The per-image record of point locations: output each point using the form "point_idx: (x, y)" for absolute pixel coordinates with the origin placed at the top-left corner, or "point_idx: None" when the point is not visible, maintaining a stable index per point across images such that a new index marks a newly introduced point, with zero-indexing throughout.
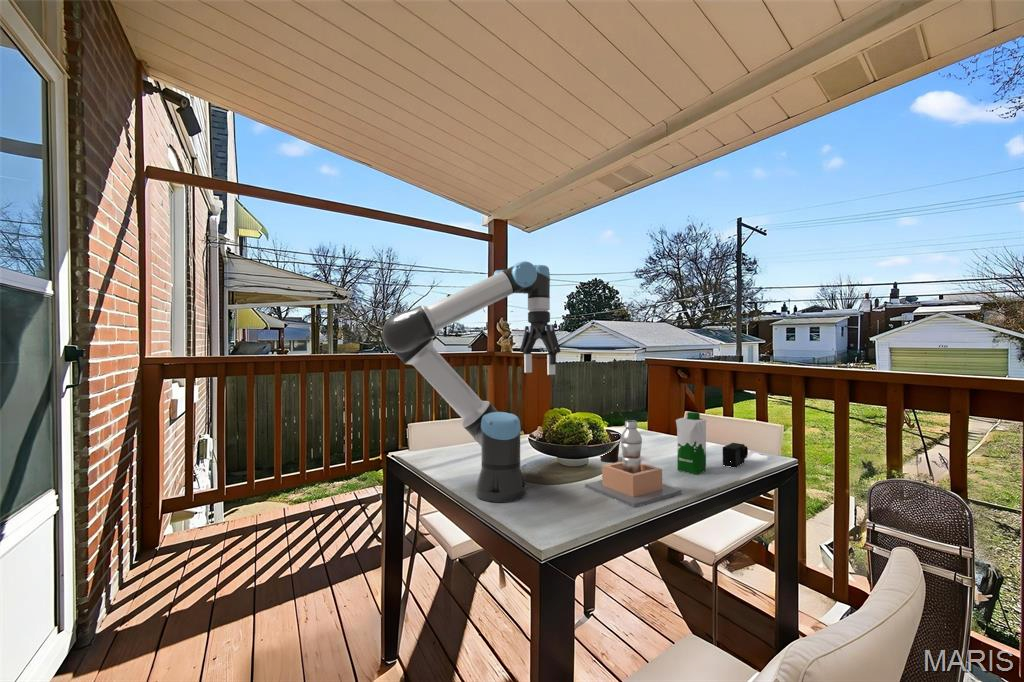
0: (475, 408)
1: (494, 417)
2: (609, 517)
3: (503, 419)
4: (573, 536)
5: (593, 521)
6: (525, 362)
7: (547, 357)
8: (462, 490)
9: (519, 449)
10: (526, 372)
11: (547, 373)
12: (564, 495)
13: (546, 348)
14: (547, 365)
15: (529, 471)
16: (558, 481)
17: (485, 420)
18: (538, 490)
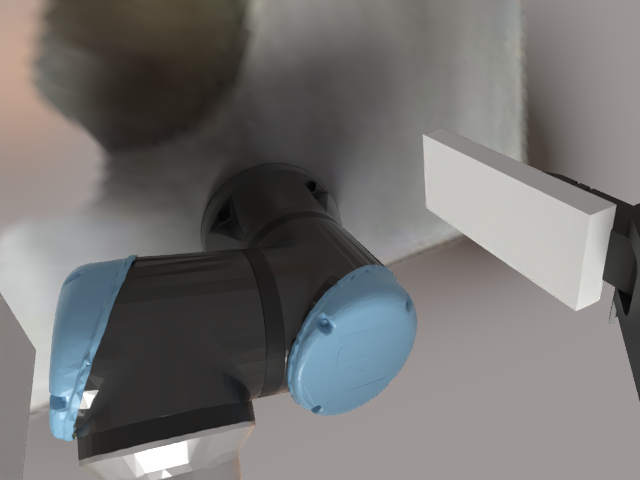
0: (239, 463)
1: (362, 378)
2: (496, 29)
3: (393, 348)
4: (515, 146)
5: (492, 77)
6: (22, 450)
7: (549, 290)
8: None
9: (355, 240)
10: (29, 342)
11: (432, 211)
12: (343, 65)
13: (632, 371)
14: (482, 245)
15: (57, 79)
16: (219, 20)
17: (368, 400)
18: (279, 123)
